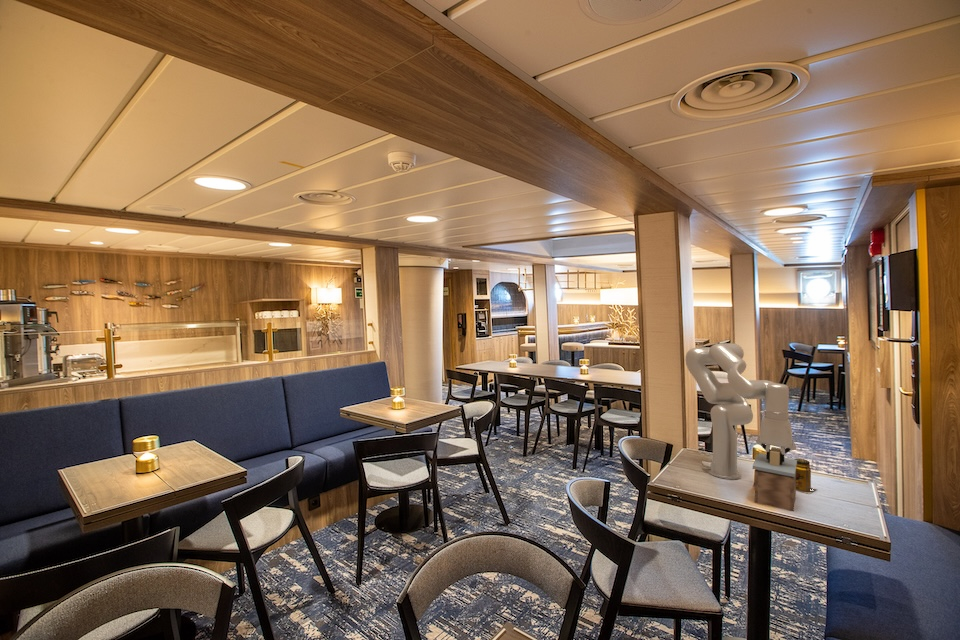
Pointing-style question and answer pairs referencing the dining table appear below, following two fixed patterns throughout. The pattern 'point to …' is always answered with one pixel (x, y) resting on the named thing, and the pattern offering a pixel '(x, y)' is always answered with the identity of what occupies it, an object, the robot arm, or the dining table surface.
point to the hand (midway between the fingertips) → (775, 462)
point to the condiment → (803, 476)
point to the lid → (775, 464)
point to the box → (775, 490)
